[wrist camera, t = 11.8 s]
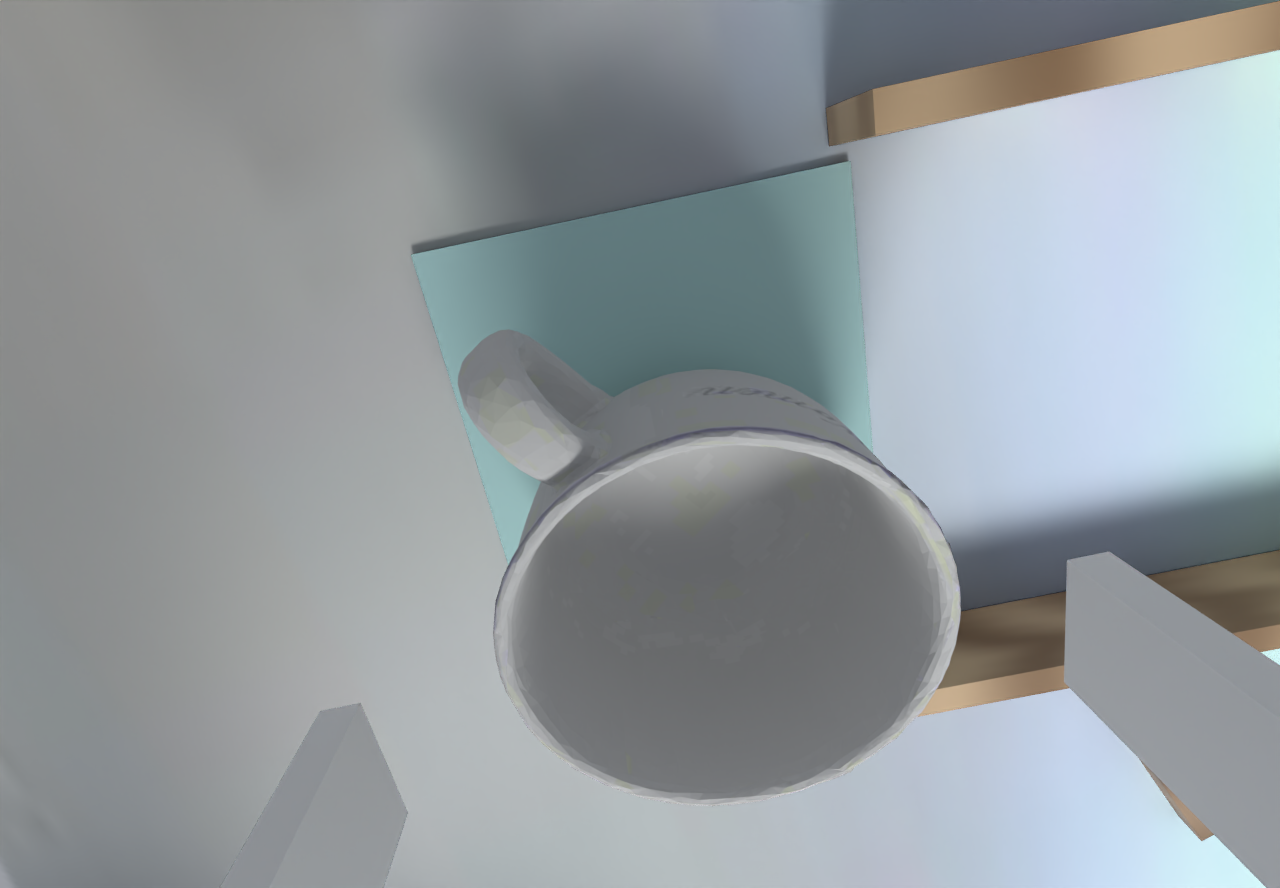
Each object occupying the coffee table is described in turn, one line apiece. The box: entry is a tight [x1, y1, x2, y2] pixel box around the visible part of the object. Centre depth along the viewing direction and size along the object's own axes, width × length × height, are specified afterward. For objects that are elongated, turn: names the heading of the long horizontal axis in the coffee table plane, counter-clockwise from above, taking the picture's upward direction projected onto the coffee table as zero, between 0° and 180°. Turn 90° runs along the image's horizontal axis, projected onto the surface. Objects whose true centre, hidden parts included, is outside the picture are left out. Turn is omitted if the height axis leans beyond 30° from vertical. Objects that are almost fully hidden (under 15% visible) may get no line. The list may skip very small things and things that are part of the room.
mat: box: [411, 161, 873, 565], centre depth 22 cm, size 13×16×1 cm
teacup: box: [458, 329, 961, 806], centre depth 18 cm, size 14×11×8 cm
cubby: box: [826, 1, 1280, 717], centre depth 20 cm, size 22×19×4 cm
